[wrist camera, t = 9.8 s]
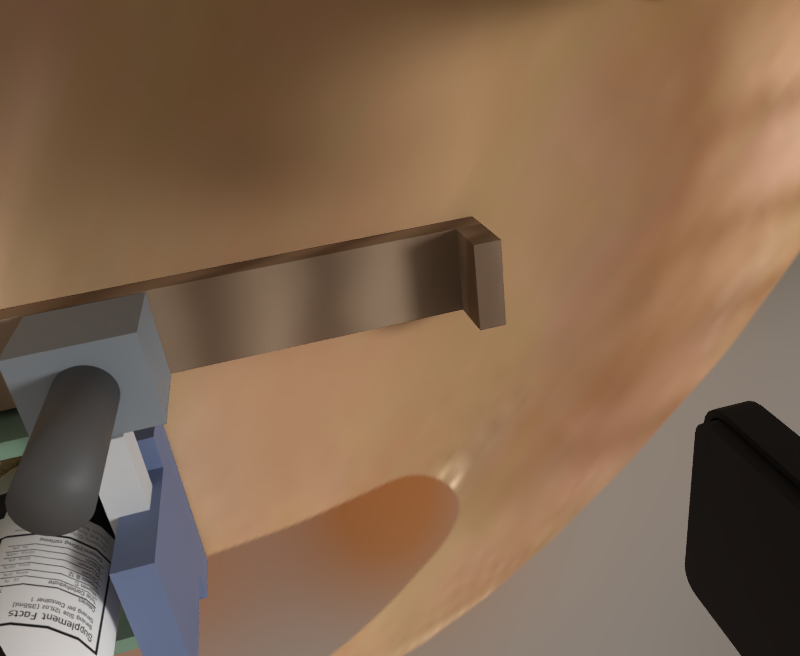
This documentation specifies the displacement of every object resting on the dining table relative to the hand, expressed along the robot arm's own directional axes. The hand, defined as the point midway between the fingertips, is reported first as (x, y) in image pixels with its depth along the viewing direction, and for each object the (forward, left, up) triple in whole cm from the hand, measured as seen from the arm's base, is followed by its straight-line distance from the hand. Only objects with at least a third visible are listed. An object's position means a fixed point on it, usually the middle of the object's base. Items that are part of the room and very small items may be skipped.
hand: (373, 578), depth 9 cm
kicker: (+10, +16, -30) cm, 36 cm away
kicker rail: (+3, +8, -31) cm, 32 cm away
